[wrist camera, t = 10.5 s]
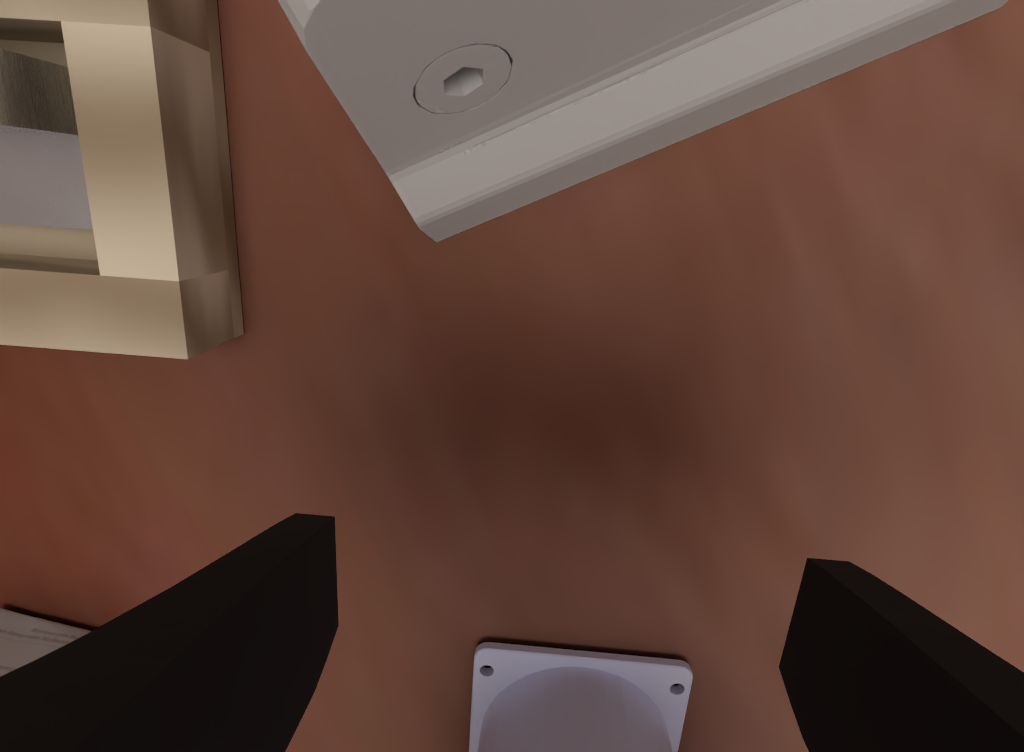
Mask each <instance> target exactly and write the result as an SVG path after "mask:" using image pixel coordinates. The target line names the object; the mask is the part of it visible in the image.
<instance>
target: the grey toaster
mask: <svg viewBox="0 0 1024 752" xmlns="http://www.w3.org/2000/svg"><path fill="white" fill-rule="evenodd" d="M278 1H279V3H280V5H281V7H282V9H283V10H284V12H285V14H286V16H287V17H288V19H289V21H290V23H291V25H292V26H293V28H294V30H295V32H296V34H297V35H298V37H299V39H300V41H301V42H302V44H303V46H304V48H305V50H306V51H307V53H308V55H309V56H310V58H311V59H312V61H313V62H314V64H315V65H316V67H317V68H318V70H319V72H320V73H321V75H322V76H323V78H324V79H325V81H326V82H327V84H328V85H329V87H330V88H331V90H332V92H333V93H334V95H335V96H336V98H337V99H338V101H339V102H340V104H341V105H342V107H343V108H344V110H345V112H346V113H347V115H348V116H349V118H350V119H351V121H352V122H353V124H354V125H355V127H356V128H357V130H358V132H359V133H360V135H361V136H362V138H363V139H364V141H365V142H366V144H367V145H368V147H369V148H370V150H371V152H372V153H373V155H374V156H375V158H376V159H377V161H378V162H379V164H380V165H381V167H382V168H383V170H384V172H385V173H386V175H387V176H388V178H389V179H390V181H391V183H392V184H393V186H394V188H395V189H396V191H397V193H398V194H399V196H400V198H401V199H402V201H403V203H404V204H405V206H406V208H407V209H408V211H409V213H410V214H411V216H412V218H413V219H414V221H415V223H416V224H417V226H418V228H419V229H420V230H421V231H423V232H424V233H425V234H426V235H428V236H429V237H430V238H431V239H433V240H434V241H435V242H439V241H441V240H443V239H446V238H448V237H451V236H453V235H455V234H458V233H460V232H463V231H465V230H467V229H470V228H472V227H475V226H477V225H479V224H482V223H484V222H487V221H489V220H492V219H494V218H496V217H499V216H501V215H504V214H506V213H508V212H511V211H513V210H516V209H518V208H520V207H523V206H525V205H528V204H530V203H532V202H535V201H537V200H540V199H542V198H544V197H547V196H549V195H552V194H554V193H556V192H559V191H561V190H564V189H566V188H568V187H571V186H573V185H576V184H578V183H580V182H583V181H585V180H588V179H590V178H593V177H595V176H597V175H600V174H602V173H605V172H607V171H609V170H612V169H614V168H617V167H619V166H621V165H624V164H626V163H629V162H631V161H633V160H636V159H638V158H641V157H643V156H645V155H648V154H650V153H653V152H655V151H657V150H660V149H662V148H665V147H667V146H669V145H672V144H674V143H677V142H679V141H681V140H684V139H686V138H689V137H691V136H694V135H696V134H698V133H701V132H703V131H706V130H708V129H710V128H713V127H715V126H718V125H720V124H722V123H725V122H727V121H730V120H732V119H734V118H737V117H739V116H742V115H744V114H746V113H749V112H751V111H754V110H756V109H758V108H761V107H763V106H766V105H768V104H770V103H773V102H775V101H778V100H780V99H783V98H785V97H787V96H790V95H792V94H795V93H797V92H799V91H802V90H804V89H807V88H809V87H811V86H814V85H816V84H819V83H821V82H823V81H826V80H828V79H831V78H833V77H835V76H838V75H840V74H843V73H845V72H847V71H850V70H852V69H855V68H857V67H859V66H862V65H864V64H867V63H869V62H871V61H874V60H876V59H879V58H881V57H884V56H886V55H888V54H891V53H893V52H896V51H898V50H900V49H903V48H905V47H908V46H910V45H912V44H915V43H917V42H920V41H922V40H924V39H927V38H929V37H932V36H934V35H936V34H939V33H941V32H944V31H946V30H948V29H951V28H953V27H956V26H958V25H960V24H963V23H965V22H968V21H970V20H972V19H975V18H977V17H980V16H982V15H985V14H987V13H989V12H992V11H994V10H997V9H999V8H1001V7H1002V6H1003V5H1004V4H1005V3H1006V2H1007V1H1008V0H278Z"/></svg>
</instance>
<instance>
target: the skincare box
mask: <svg viewBox="0 0 1024 752" xmlns="http://www.w3.org/2000/svg"><path fill="white" fill-rule="evenodd" d="M90 632H91V631H89V630H85V629H81V628H77V627H73V626H69V625H65V624H61V623H57V622H53V621H49V620H45V619H41V618H37V617H32V616H28V615H25V614H21V613H17V612H13V611H9V610H6V609H2V608H0V676H3V675H5V674H7V673H9V672H11V671H13V670H15V669H17V668H19V667H22V666H24V665H26V664H28V663H30V662H32V661H34V660H36V659H38V658H40V657H42V656H44V655H46V654H48V653H50V652H52V651H54V650H56V649H58V648H60V647H62V646H64V645H66V644H68V643H70V642H72V641H74V640H76V639H78V638H80V637H82V636H84V635H86V634H88V633H90Z"/></svg>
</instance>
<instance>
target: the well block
mask: <svg viewBox="0 0 1024 752" xmlns="http://www.w3.org/2000/svg"><path fill="white" fill-rule="evenodd" d="M0 49H4V50H7V51H11V52H15V53H18V54H22V55H26V56H29V57H33V58H37V59H40V60H44V61H48V62H51V63H55V64H58V65H62V66H66V67H68V71H69V77H70V84H71V90H72V97H73V103H74V110H75V116H76V123H77V129H78V136H79V142H80V149H81V155H82V162H83V168H84V175H85V181H86V187H87V194H88V200H89V207H90V213H91V220H92V226H93V229H78V228H61V227H44V226H28V225H11V224H0V344H1V345H14V346H26V347H39V348H52V349H64V350H77V351H90V352H102V353H115V354H128V355H140V356H153V357H166V358H178V359H189V358H192V357H194V356H196V355H198V354H200V353H203V352H205V351H207V350H209V349H212V348H214V347H216V346H218V345H220V344H223V343H225V342H227V341H229V340H231V339H234V338H236V337H238V336H240V335H242V334H244V329H243V317H242V304H241V292H240V279H239V267H238V254H237V242H236V230H235V217H234V205H233V192H232V180H231V168H230V155H229V143H228V130H227V118H226V105H225V93H224V81H223V68H222V56H221V43H220V31H219V18H218V6H217V0H0Z"/></svg>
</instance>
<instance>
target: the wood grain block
mask: <svg viewBox="0 0 1024 752" xmlns="http://www.w3.org/2000/svg"><path fill="white" fill-rule="evenodd" d="M0 224H11V225H28V226H44V227H61V228H78V229H93V226H92V220H91V213H90V207H89V200H88V194H87V187H86V181H85V175H84V168H83V162H82V155H81V149H80V142H79V136H78V129H77V123H76V116H75V110H74V103H73V97H72V90H71V84H70V77H69V71H68V67H66V66H62V65H58V64H55V63H51V62H48V61H44V60H40V59H37V58H33V57H29V56H26V55H22V54H18V53H15V52H11V51H7V50H4V49H0Z"/></svg>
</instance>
